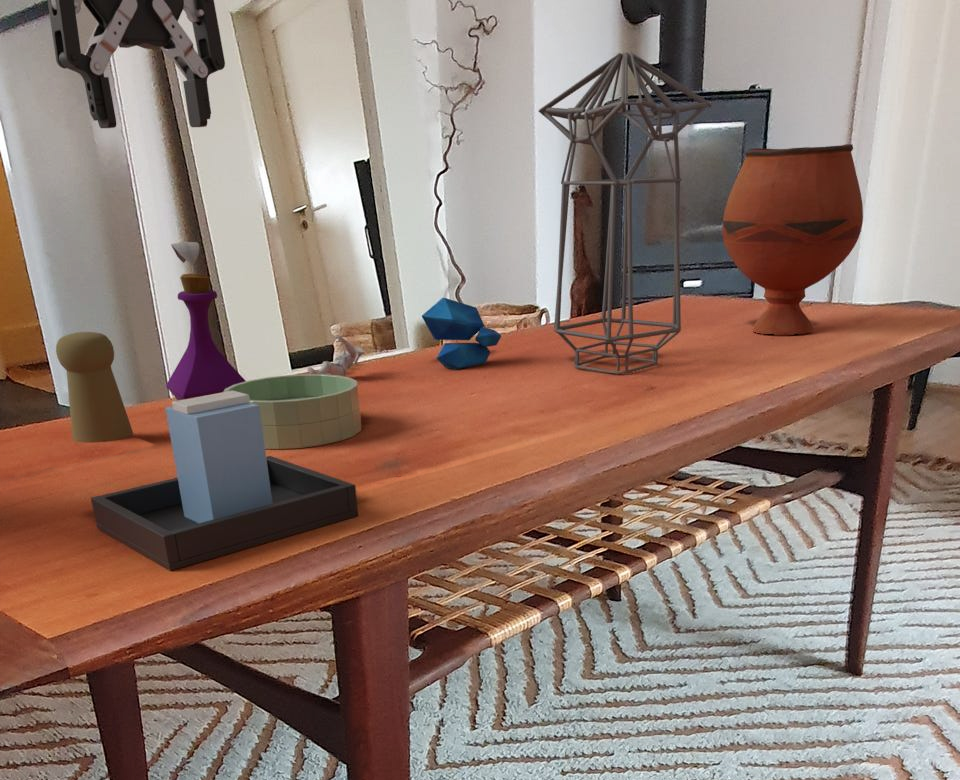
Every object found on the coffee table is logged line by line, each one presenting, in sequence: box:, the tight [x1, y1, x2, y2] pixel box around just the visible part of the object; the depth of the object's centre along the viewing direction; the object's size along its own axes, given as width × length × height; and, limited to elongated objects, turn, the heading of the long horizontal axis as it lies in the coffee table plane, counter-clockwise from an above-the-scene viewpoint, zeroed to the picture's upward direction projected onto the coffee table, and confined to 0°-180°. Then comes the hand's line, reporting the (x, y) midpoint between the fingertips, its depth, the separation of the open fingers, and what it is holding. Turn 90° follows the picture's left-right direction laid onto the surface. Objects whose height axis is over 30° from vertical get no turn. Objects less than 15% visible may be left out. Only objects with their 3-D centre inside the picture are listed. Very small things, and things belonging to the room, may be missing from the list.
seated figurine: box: [307, 335, 366, 377], centre depth 122 cm, size 8×5×12 cm
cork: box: [55, 331, 135, 444], centre depth 95 cm, size 6×6×11 cm
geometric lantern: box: [538, 52, 713, 375], centre depth 118 cm, size 16×16×35 cm
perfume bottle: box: [165, 241, 246, 401], centre depth 104 cm, size 8×8×18 cm
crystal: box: [421, 297, 502, 370], centre depth 128 cm, size 7×9×12 cm
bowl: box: [223, 373, 362, 450], centre depth 97 cm, size 13×13×5 cm
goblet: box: [721, 143, 864, 336], centre depth 140 cm, size 19×19×25 cm
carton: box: [164, 391, 273, 523], centre depth 72 cm, size 5×5×9 cm
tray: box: [90, 455, 359, 572], centre depth 74 cm, size 16×13×2 cm
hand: (154, 127), depth 86 cm, fingers open, 8 cm apart
